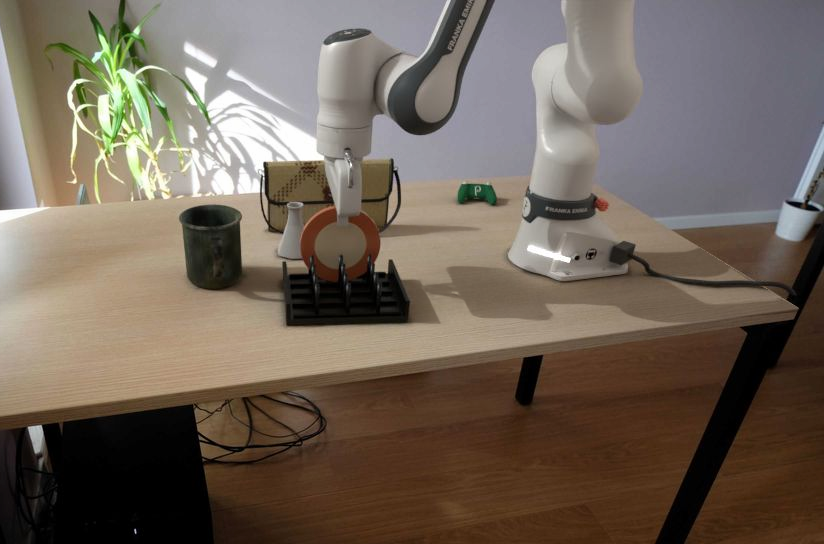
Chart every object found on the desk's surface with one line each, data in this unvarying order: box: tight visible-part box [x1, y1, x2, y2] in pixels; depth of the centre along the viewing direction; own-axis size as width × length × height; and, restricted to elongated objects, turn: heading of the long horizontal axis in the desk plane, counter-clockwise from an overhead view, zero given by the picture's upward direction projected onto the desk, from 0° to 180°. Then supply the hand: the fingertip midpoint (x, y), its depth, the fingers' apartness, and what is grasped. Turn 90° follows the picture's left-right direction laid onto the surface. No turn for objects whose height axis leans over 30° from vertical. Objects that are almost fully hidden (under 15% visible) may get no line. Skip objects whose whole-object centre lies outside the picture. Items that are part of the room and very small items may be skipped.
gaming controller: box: [457, 180, 498, 206], centre depth 158 cm, size 9×4×6 cm
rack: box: [281, 254, 411, 327], centre depth 113 cm, size 20×16×7 cm
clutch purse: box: [257, 157, 402, 235], centre depth 137 cm, size 30×7×15 cm, turn 99°
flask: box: [277, 202, 304, 260], centre depth 129 cm, size 7×7×10 cm
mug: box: [178, 204, 243, 290], centre depth 117 cm, size 11×15×12 cm
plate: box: [300, 206, 381, 282], centre depth 115 cm, size 14×1×14 cm, turn 95°
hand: (341, 222), depth 113 cm, fingers closed on plate, 1 cm apart
